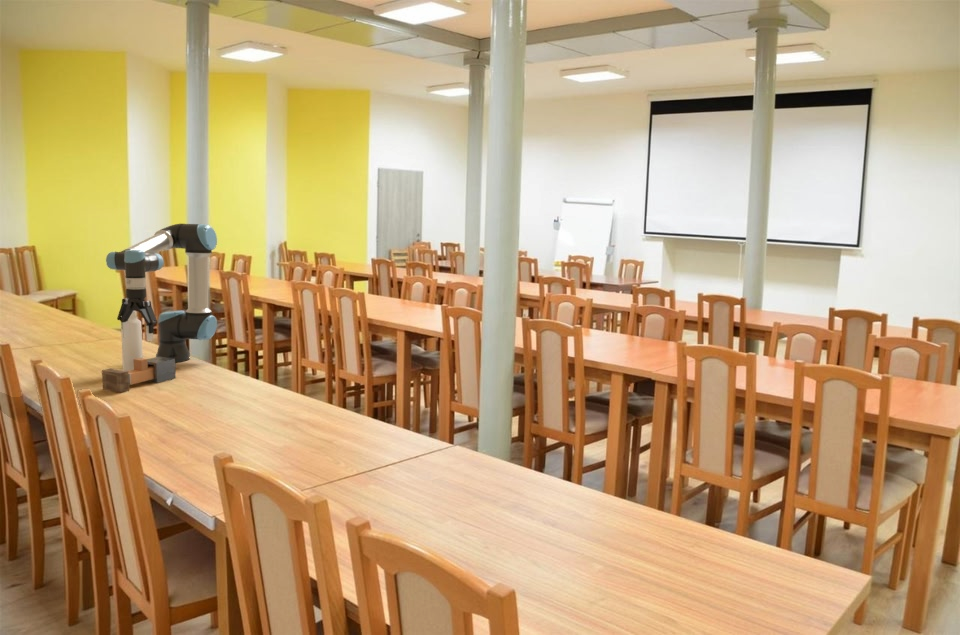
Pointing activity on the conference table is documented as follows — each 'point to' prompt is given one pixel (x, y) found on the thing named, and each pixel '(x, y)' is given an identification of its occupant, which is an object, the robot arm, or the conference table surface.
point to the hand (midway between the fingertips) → (137, 339)
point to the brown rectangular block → (115, 380)
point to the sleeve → (162, 369)
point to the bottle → (132, 343)
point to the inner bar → (141, 371)
